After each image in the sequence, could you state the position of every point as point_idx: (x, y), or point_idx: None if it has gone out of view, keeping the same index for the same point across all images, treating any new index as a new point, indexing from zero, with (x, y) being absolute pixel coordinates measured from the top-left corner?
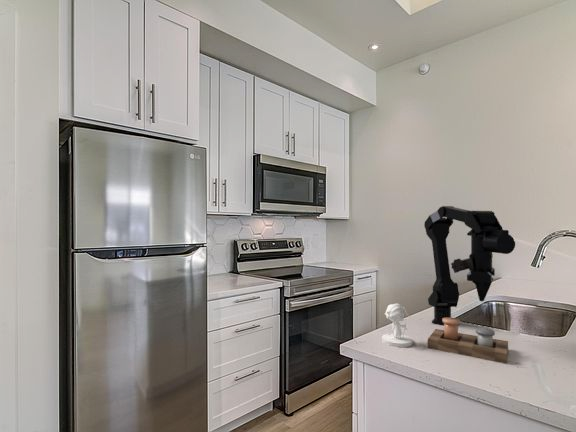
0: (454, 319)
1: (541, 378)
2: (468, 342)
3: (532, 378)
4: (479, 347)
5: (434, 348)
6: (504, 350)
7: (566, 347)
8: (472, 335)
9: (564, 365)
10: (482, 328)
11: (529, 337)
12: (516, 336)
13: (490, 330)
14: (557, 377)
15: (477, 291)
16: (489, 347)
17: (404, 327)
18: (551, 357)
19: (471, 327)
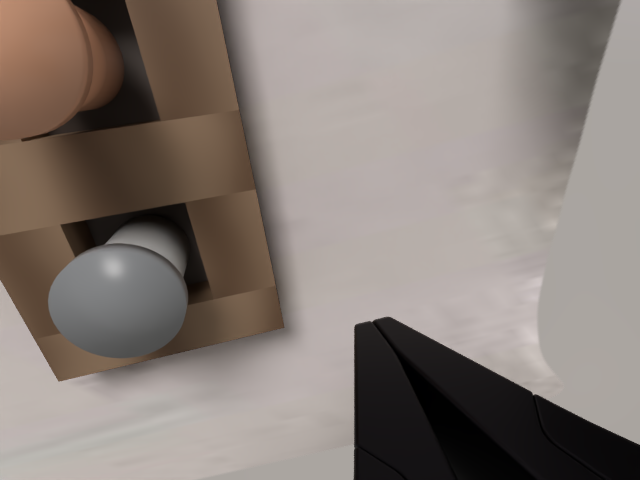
0: (23, 73)
1: (38, 455)
2: (66, 192)
3: (4, 441)
4: (31, 266)
5: None
6: (112, 358)
7: None
8: (245, 167)
9: (251, 454)
10: (153, 283)
11: (508, 313)
12: (497, 277)
13: (150, 331)
14: (104, 474)
15: (354, 437)
16: None
17: None
18: (307, 415)
19: (548, 70)
